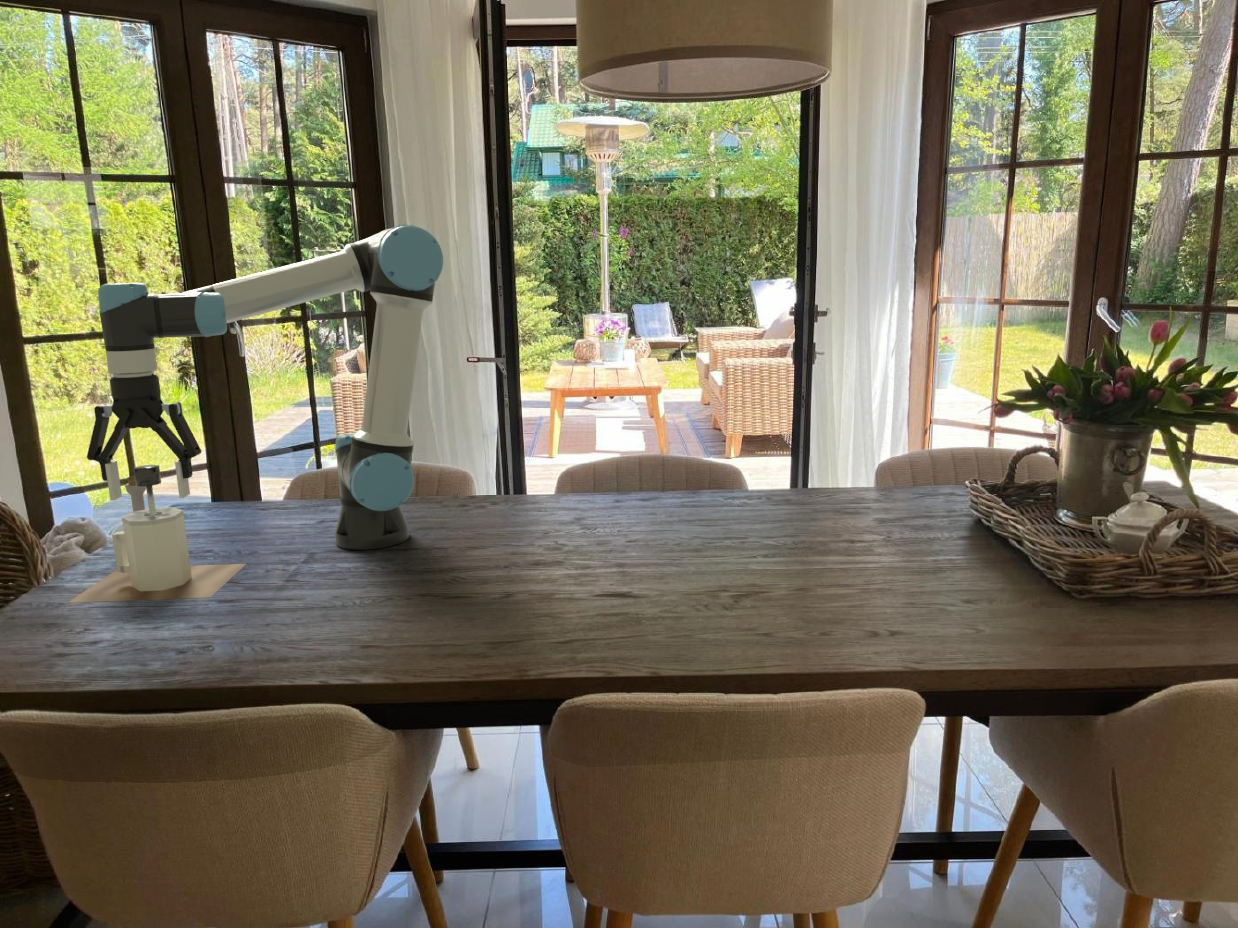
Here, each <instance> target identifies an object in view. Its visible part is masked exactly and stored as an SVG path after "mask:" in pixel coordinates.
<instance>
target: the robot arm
mask: <svg viewBox="0 0 1238 928" xmlns="http://www.w3.org/2000/svg"><path fill="white" fill-rule="evenodd" d="M443 266H444V254H443V250H442V248H441V246H440V244H439V242H438V240H437V239H436V237H434V235H433V234H432V233H430V232H428V230H425V229H424V228H421V227H419V226H415V225H412V224H411V225H409V224H399V225H396V226H393V227H389V228H385V229H384V230H382V231H379V232H378V233H375V234H373V235H371V236H369V237H366V238H364V239H361V240H358V241H355V242H351V243H348V244H345V246H344V248H343V250H341V251H338V252H334V253H330V254H326V255H321V256H319V257H315V258H311V259H307V260H303V261H299V262H296V263H295V262H294V263H291V264H287V265H283V266H280V267H279V266H278V267H276V268H272V269H269V270H265V271H262V272H261V271H260V272H257V273H253V274H249V275H246V276H241V277H237V278H234V279H230V280H225V281H223V282H222V281H221V282H219V283H215V284H212V285H207V286H203V287H199V288H195V289H190V290H184V291H181V292H178V293H164V294H163V293H162V294H158V293H149V290H148V288H147V287H148V286H147V285H146V284H145V283H144V282H128V283H127V282H125V283H124V282H121V283H120V282H119V283H104V284H101V285H100V286H99V288H98V289H97V296H98V297H97V298H98V309H99V312H98V313H99V317H100V325H101V329H102V336H103V342H104V349H105V357H106V365H107V372H108V373H109V375H112V376H111V377H110V378H109V384H110V385H109V386H110V391H111V393H110V394H111V397H112V400H113V401H112V404H109V405H108V404H107V403H103V404H99V405H96V406H95V407H94V409H93V410H94V417H95V421H94V424H93V428H92V433H91V438H90V441H89V445H88V451H87V453H86V454H87V455H86V458H87V460H88V461H94V462H96V463H97V462H98V464H99V465H100V467H99V468H100V471H101V472H100V474H101V479H102V481H104V482H107V487H108V495H109V500H110V501H116V500H118V499H120V498H122V497H123V493H122V487H121V486H122V485H121V480H120V472H119V465H118V460H114V456H115V454H116V452H117V450H118V448H119V447H120V445H121V443H122V441H123V439H124V438H125V435H126V434H127V432H128V431H129V430H130V429H137V428H140V429H148V428H150V429H151V430H152V431H154V432H155V433H156V435H158V437H159V438H161V440H162V441H163V443H165V444H166V446H167V447H168V448H169V449H170V450H171V452H172V453H173V454H174V455H175V456H176V457H177V459H178V460H176V461H174V466H175V473H176V481H177V488H178V489H177V490H178V496H179V497H178V498H179V499H185V498H186V497H188V496H190V495H191V492H190V491H191V490H190V483H189V479H190V478H192V476H193V465H192V458H194V457H197V456H198V455H199V456H200V454H202V449H201V447H200V445H199V444H198V442H197V439H196V438H195V436H194V434H193V432H192V430H191V427H190V426H189V424H188V422H187V421H186V419H185V416H184V414H183V408H182V407H183V406H182V403H181V402H180V401H174V402H172V403H170V402H169V403H164V401H163V400H162V398H161V397H162V396H161V386H160V385H161V384H160V378H159V375H158V374H157V373H155V372H156V371H158V363H157V356H156V351H155V350H156V349H155V342H154V339H164V338H190V337H191V338H192V337H205V338H208V337H212V336H220V335H224V334H226V333H227V331H228V324H229V323H234V322H237V321H241V320H244V319H248V318H251V317H255V316H260V315H262V314H266V313H270V312H274V311H278V310H281V309H285V308H289V307H293V306H296V305H300V304H304V303H307V302H311V301H315V300H318V299H322V298H326V297H330V296H333V295H337V294H338V295H339V294H342V293H345V292H349V291H352V290H357V291H359V292H361V293H364V292H368V291H370V292H369V293H370V295H371V297H372V298H373V300H374V301H375V302H376V310H375V318H374V326H373V335H372V343H371V350H370V357H369V358H370V359H369V367H368V375H367V383H366V389H365V398H364V407H363V416H362V423H361V427H360V429H358V430H357V431H356V432H355V433H350V434H349V433H348V434H341V435H338V436H337V437H336V439H335V448H334V452H335V454H336V463H337V464H336V465H337V475H338V487H339V497H340V499H339V500H340V510H339V514H338V519H337V523H336V527H335V531H334V541H335V545H336V546H338V547H339V548H343V549H345V550H356V551H357V550H361V551H365V550H377V549H382V548H388V547H392V546H396V545H399V544H401V543H403V542H405V541H407V540H408V539H410V532H409V531H410V530H409V527H410V526H409V524H408V522H407V519H406V517H405V515H404V513H403V510H402V508H401V505H402V504H404V503H405V502H406V501H407V500H408V499H409V498H410V496H411V494H412V492H413V489H414V485H415V473H414V471H413V468H412V459H413V452H414V451H413V450H414V441H413V440H412V438H411V437H410V436H409V434H408V427H409V420H410V412H411V404H412V398H413V390H414V383H415V382H414V381H415V374H416V368H417V361H418V360H417V359H418V351H419V344H420V336H421V330H422V329H421V328H422V321H423V313H424V311H425V310H426V309H427V308H428V307H430V306H431V305H432V304H433V302H434V301H433V300H434V294H435V285H436V282H437V281H438V279H439V277H440V276H441V273H442V271H443ZM163 412H165V414H166V415H167V416H169V417H170V420H171V423H172V425H173V427H174V429H175V430H176V431H175V432H177V435H178V436H179V437H177V436H176V434H175V433H174V432H173V431H172V429H171V428H170V427H169V426H168V423H167V422H166V421H165V419H164V418H163V417H162V414H163ZM112 414H113V415H115V416H116V417H117V419H118V420H117V422H116V424H115V425H114V427H113V429H114V430H113V431H112V433H111V434H110V437H109V439H107V442H106V444H105V446H104V443H105V439H106V436H107V432H108V426H109V424H110V417H111V416H112ZM103 447H104V448H103Z"/></svg>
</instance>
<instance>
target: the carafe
mask: <svg viewBox="0 0 1238 928" xmlns="http://www.w3.org/2000/svg"><path fill="white" fill-rule="evenodd" d="M155 510H156V516H150V512H149V508H145V510H140V511H135V512H133V511H131V512H129V513H128V514H126V515H125V516H123V517H121V521H122V527H123V530H121V531H120V530H119V531H116V532H114V533H113V534H112V535H111V536H112V544H113V551H114V558H115V564H116V570H117V572H121V573H128V572H130V577H131V584H132V587H134V588H135V589H137V590H139V591H161V590H166V589H169V588H173V587H177V586H181V585H184V584H185V583H186V582H187V581H188V580H190V579H191V578H192V575H191V567H190V566H191V561H190V553H189V545H188V537H187V530H186V522H185V513H184V509H180V508H177V507H175V506H172V507H171V506H170V507H168V506H167V507H166V506H165V507H155Z"/></svg>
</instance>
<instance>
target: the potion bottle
mask: <svg viewBox="0 0 1238 928" xmlns="http://www.w3.org/2000/svg"><path fill="white" fill-rule="evenodd" d="M126 479H127V482H128V483H126V484H124V487H125V490H126V491H125V492H127V494H129V496H130V498H131V499H130V500H131V505H132V512H135V511H140V510H145V509H146V506H145V498H144V494H145V492H146V486H136V481H135V474H134V475H131V476H129V477H126Z"/></svg>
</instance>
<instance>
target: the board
mask: <svg viewBox="0 0 1238 928" xmlns="http://www.w3.org/2000/svg"><path fill="white" fill-rule="evenodd" d="M246 565H247V563H233V564H231V563H230V564H204V565H203V564H201V565H190V567H191V575H192V578H191V579H190V580H188V581H187V582H186V583H185V584H184V585H181V586H177V587H173V588H169V589H166V590H161V591H139V590H137V589H135V588H134V587H132V584H131V577H130V572H128V573H121V572H117V569H115V570H114V571H112V572H111V573H109V574H108V575H107V576H105V577H103V578H102V579H100V580H99V581H97V582H96V583H95V584H93V585H92V586H90V587H89V588H87V589H86V590H85V591H83V592H81V593H80V594H78V595H77V596H76V597H74V598H72V599H71V600H69V601H67V604H75V603H76V604H79V603H81V604H83V603H98V602H99V603H105V602H110V603H111V602H129V601H132V602H133V601H134V602H135V601H158V600H162V601H163V600H181V599H182V600H184V599H185V600H186V599H209V598H212V597H213V596H214V595H216V593H218V591H219V590H221V589H222V588H223V587H224V586H225V585H226V584H227V583H228V582H229V581H230V580H231V579H232V578H234V577H235V576H236V575H237V574H238V573H239V572H240V571H241V570H242V569H243V568H244V567H245V566H246Z"/></svg>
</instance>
